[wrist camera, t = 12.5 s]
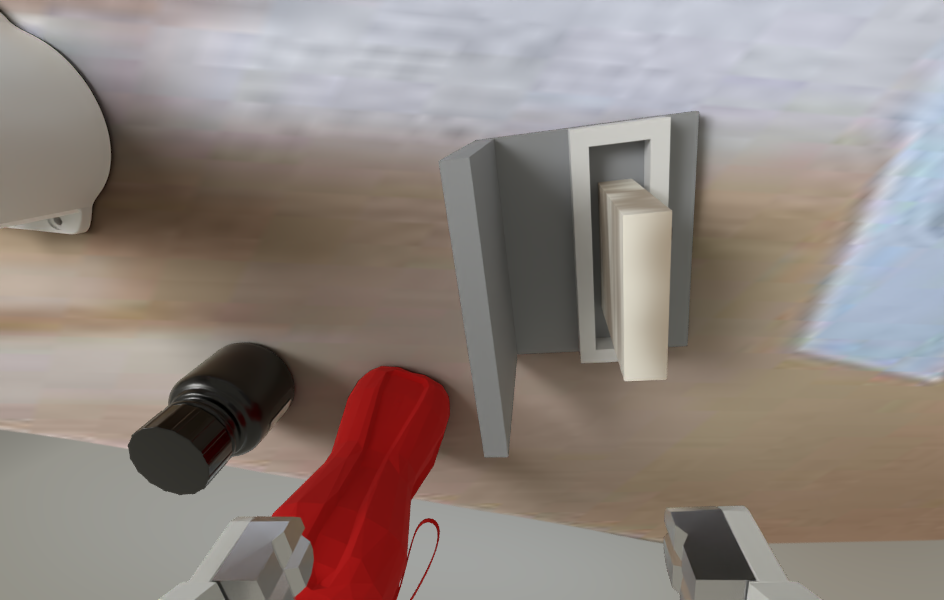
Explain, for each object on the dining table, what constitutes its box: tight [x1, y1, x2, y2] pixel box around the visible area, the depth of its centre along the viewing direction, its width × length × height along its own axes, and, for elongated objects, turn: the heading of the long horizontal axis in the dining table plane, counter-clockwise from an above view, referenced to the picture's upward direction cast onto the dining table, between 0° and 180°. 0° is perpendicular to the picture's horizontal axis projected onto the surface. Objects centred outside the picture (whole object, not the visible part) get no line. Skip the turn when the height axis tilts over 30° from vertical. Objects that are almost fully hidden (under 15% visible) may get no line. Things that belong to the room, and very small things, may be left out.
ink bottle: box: [128, 343, 294, 495], centre depth 41 cm, size 10×9×12 cm
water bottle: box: [272, 366, 450, 600], centre depth 34 cm, size 9×11×25 cm
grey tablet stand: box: [439, 111, 699, 457], centre depth 30 cm, size 16×18×14 cm
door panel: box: [598, 179, 672, 381], centre depth 30 cm, size 3×10×11 cm, turn 8°
